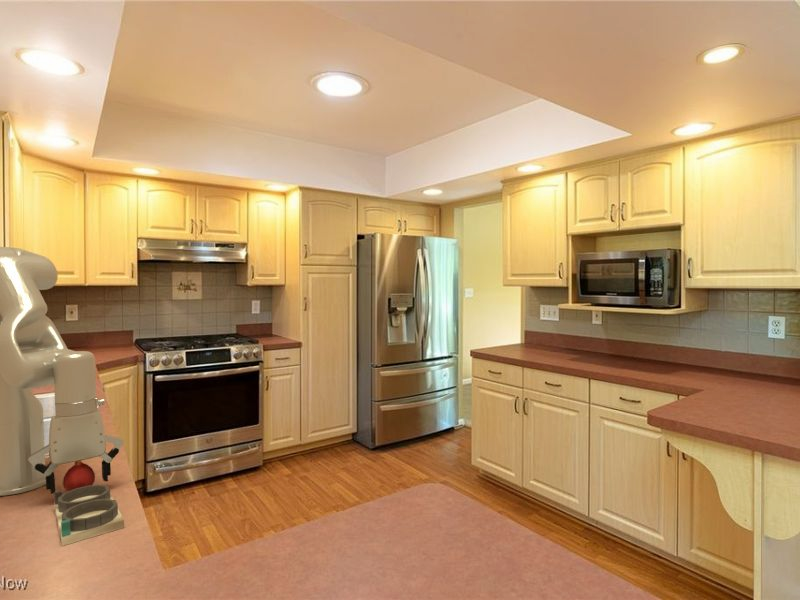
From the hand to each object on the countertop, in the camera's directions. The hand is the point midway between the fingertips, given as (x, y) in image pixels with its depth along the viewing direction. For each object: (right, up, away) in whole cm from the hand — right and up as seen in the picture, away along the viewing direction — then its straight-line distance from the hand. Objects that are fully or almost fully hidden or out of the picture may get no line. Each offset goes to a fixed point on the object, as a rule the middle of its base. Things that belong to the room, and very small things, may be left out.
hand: (79, 485), depth 105 cm
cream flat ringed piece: (+9, -2, -11) cm, 14 cm away
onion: (0, -3, 0) cm, 2 cm away
